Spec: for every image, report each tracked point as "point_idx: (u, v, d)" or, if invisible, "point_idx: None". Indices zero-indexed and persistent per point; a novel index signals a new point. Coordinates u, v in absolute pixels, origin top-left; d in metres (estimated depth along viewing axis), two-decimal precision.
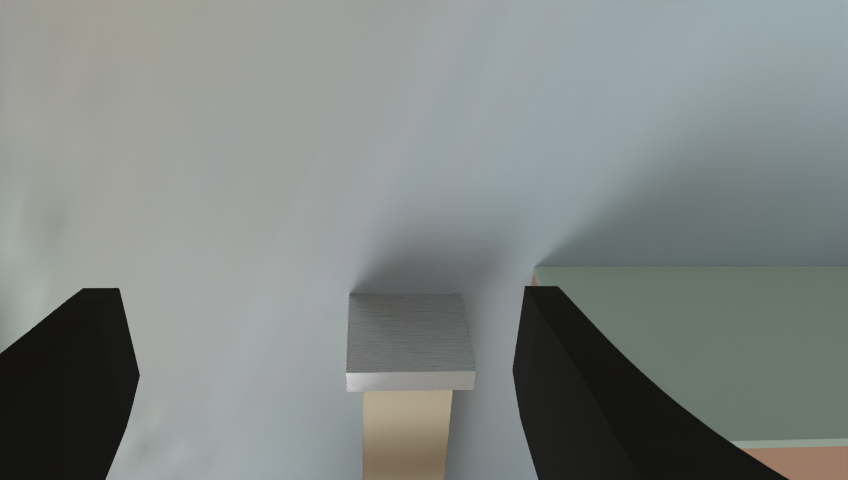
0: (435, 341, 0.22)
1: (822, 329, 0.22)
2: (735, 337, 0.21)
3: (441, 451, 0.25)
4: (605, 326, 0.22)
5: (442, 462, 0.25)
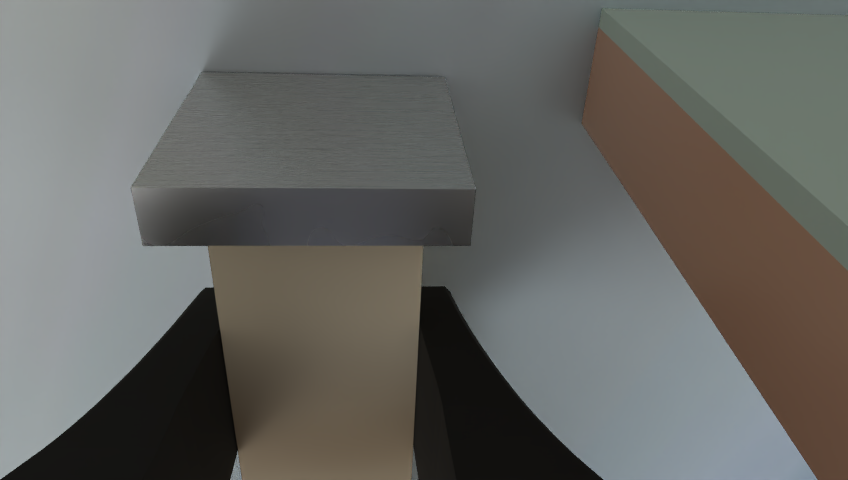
0: (378, 140, 0.09)
1: None
2: None
3: (402, 415, 0.12)
4: (801, 78, 0.09)
5: (406, 439, 0.12)
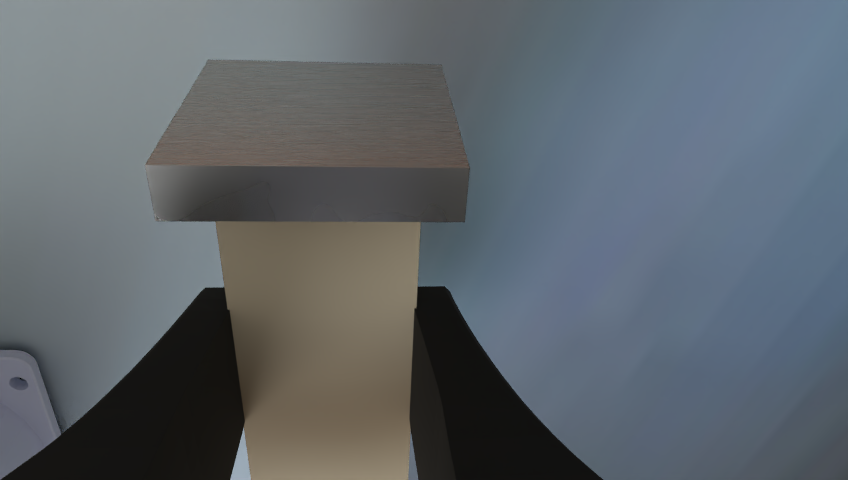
0: (378, 122, 0.10)
1: None
2: None
3: (401, 388, 0.12)
4: None
5: (404, 412, 0.12)
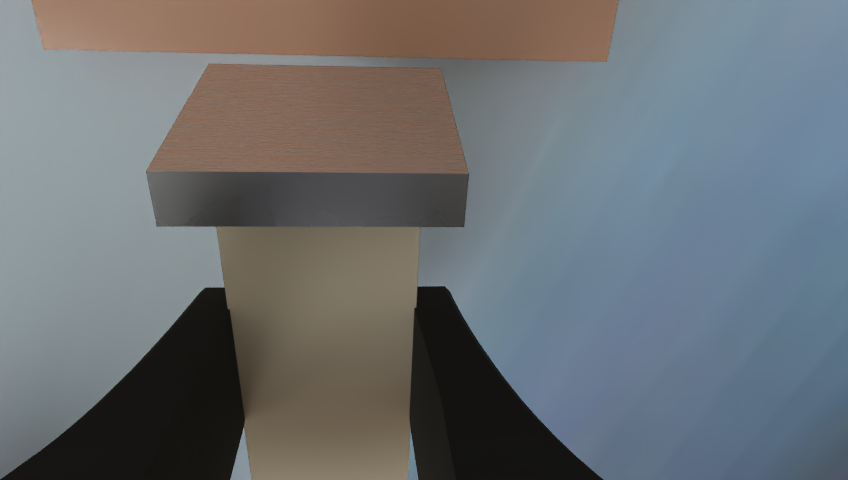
0: (377, 127, 0.10)
1: None
2: None
3: (401, 391, 0.12)
4: None
5: (404, 414, 0.13)
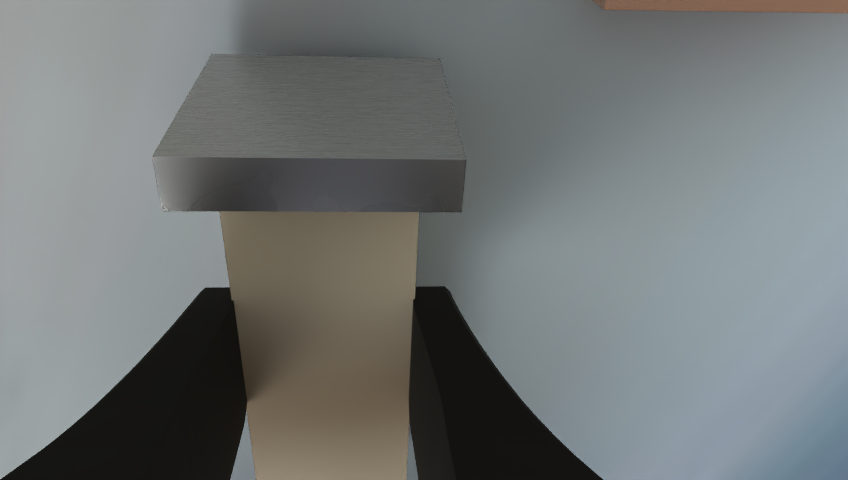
0: (377, 115, 0.10)
1: None
2: None
3: (400, 375, 0.12)
4: None
5: (403, 398, 0.13)
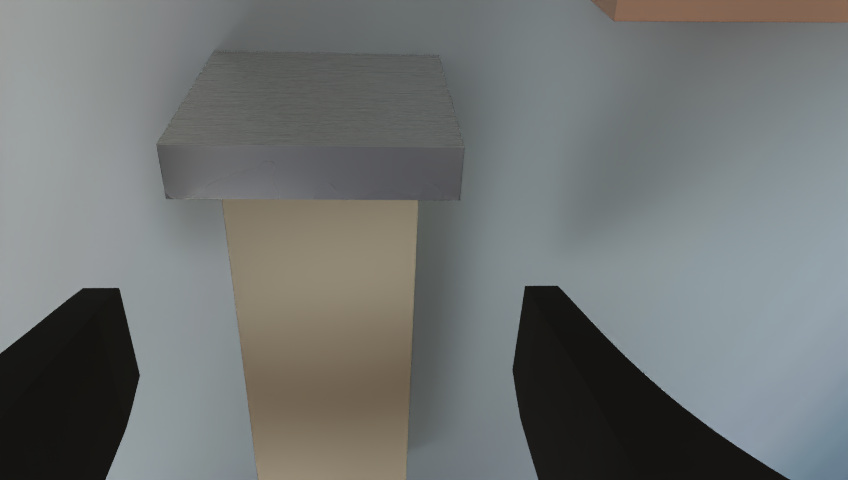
0: (377, 107, 0.10)
1: None
2: None
3: (400, 367, 0.13)
4: None
5: (403, 390, 0.13)
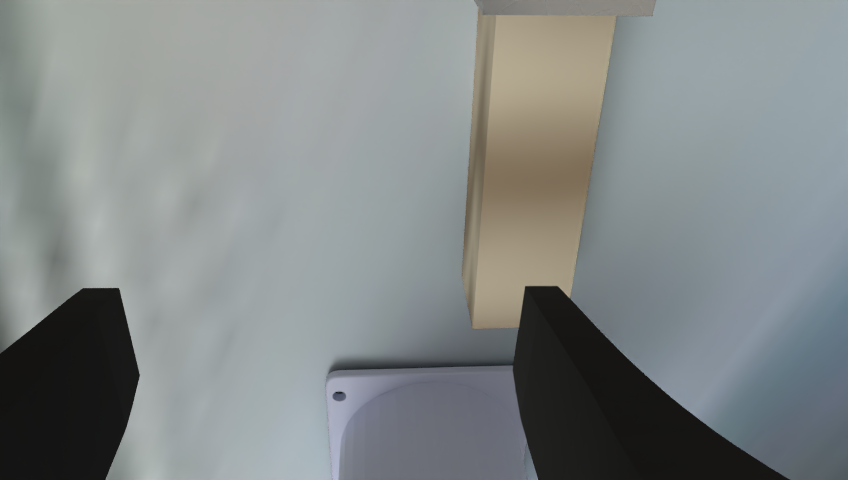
0: None
1: None
2: None
3: (586, 156, 0.19)
4: None
5: (585, 176, 0.19)
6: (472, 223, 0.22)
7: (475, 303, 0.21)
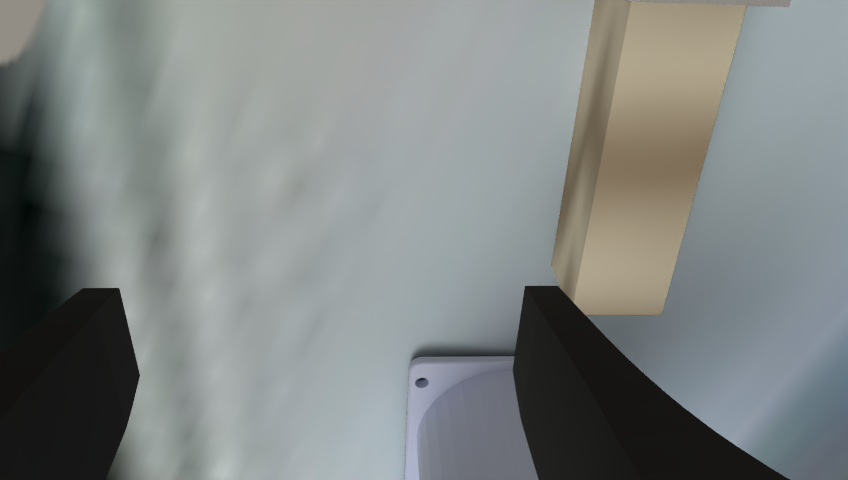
0: None
1: None
2: None
3: (701, 145, 0.19)
4: None
5: (698, 165, 0.20)
6: (574, 211, 0.22)
7: (577, 289, 0.22)
